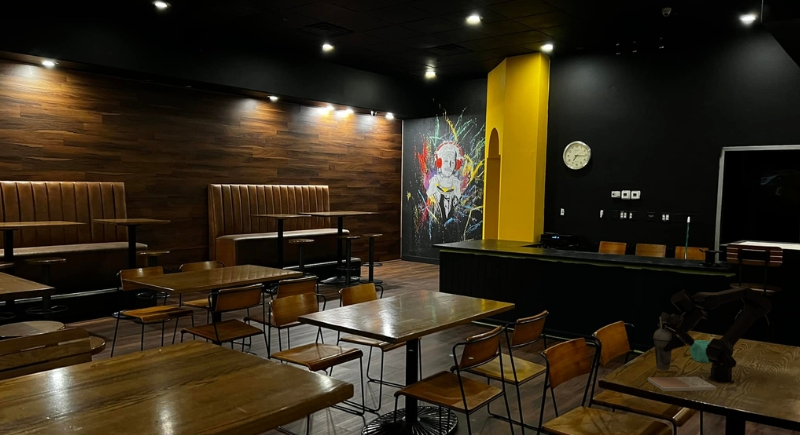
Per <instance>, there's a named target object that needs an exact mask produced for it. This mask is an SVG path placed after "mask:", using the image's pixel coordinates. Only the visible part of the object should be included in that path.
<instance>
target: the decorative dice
mask: <svg viewBox="0 0 800 435" xmlns="http://www.w3.org/2000/svg"><path fill="white" fill-rule="evenodd" d="M710 342H711V341H710V340H703V339H702V340H700V339H698V340H694V344H693V345H692V346H689V353H690V356H691V358H692V359H693V360H694V361H696V362H698V363H703V364H712V362H709V360H708V357H707V355H706V348H707V347H708V346H707V345H708V344H709V343H710Z"/></svg>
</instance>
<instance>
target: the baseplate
mask: <svg viewBox="0 0 800 435" xmlns="http://www.w3.org/2000/svg"><path fill="white" fill-rule="evenodd" d="M647 382H649V383H650V384H652V385H653V386H655V387H657V388H658V389H659V390H661V391H663V392H688V391H689V392H691V391H693V392H694V391H695V392H696V391H717V386H715V385H713V384H711V383H710V382H708V381H706V380H704V379H703V378H700V377H699V376H676V377H675V376H673V377H672V376H670V377H669V376H667V377H666V376H665V377H662V376H661V377H647Z"/></svg>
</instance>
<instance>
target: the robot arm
mask: <svg viewBox="0 0 800 435" xmlns="http://www.w3.org/2000/svg"><path fill="white" fill-rule="evenodd" d="M739 300H741V301H742V302H743V303H744V304H743V312H742V313H741V314H740V315H739V316H738V318H736V320H735V321H734V322H733V324H732V325H731V326H730V327H729V328H728V329H727V331H726V332H725V333H724V334H723V335H722V337H720V338H714V337H713V338H711V341H710V343H709V344H708V345H707V346H708V347H707V348H706V355H707V357H708V360H709V362H712V363H711V367H710V376H708V378H709V379H710V380H712V381H714V382H716V383H719V384H720V383H724V384H725V383H735V380H733V377H732V376H733V368H736V366H737V361H736V360H735V358H734V357H733V354H734V346H735V345H736V344H737V343H738V342H739V340H740V339H741V338H742V337H743V335H744V334H745V333H746V332H747V331H748V329H749V328H750V327H751V326H752V325H753V323H754V322H755V321H756V320H757V319H761V318H762V317H765V316H766V315H767V314H768V313H770V312H771V310H772V308H773V305H772V301H771V300H770V299H769V298H768V297H767V298H766V297H765V296H763V295H761V294H760V293H758V292H756V291H755V290H754V289H753V288H752V287H747V286H742V285H741V286H738V287H735V288H730V289H725V290H722V291H717V292H705V291H704V292H701V291H699V292H696V293H695V294H694V295H690V294H689V292H688V291H687V290H685V289H681V291H678V292H675V293H674V294H672V295H671V297H670V302H671V303H672V304H673V305H674V306H675V307H676V309H677V310H678V311H679V312H681V313H682V314H680V315H679V314H678V315H677V314H675V313H672V314H669V313H667V312H664V311H662V313H661V315H660V317H661V321H662V328H666V329H668V330H669V331H671V333H672V339H671V340H670V342H669V343H668V344H667V345H666V347H665V348H664V349H663V351H664V352H668V351H671V350H672V351H673V350H677V349H679V348H683V347H687V346H689V347H691V346H692V345H693V344H694V341H695V339H694V338H693V336H691V335H690V333H689V332H690V331H691V330H692V331H694V330H695V329H696V328H695V326H696V325H697V324H698V322H699V321H700V320H702V319H704V320H706V321H708V320H709V316H708V315H709V313H708V312H707V311H705V310H708V311H710V310H714V309H716V308H719V306H720V305H722V304H726V303H729V302H733V301H739ZM703 309H705V310H703ZM657 326H658V329H660V328H661V325H660V321H659V322H658V323H657Z"/></svg>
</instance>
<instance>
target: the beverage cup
mask: <svg viewBox="0 0 800 435" xmlns="http://www.w3.org/2000/svg"><path fill="white" fill-rule="evenodd" d="M662 321H663V320H661V316H659V322H660V325H661V328H660V329H659V328H658V329H656V330H655V332H654V333H653V337H652V339H653V343H654V352H655V364H656V369H658V370H661V371H669V370H670V367H671V361H672V352H673V350H671V351H668V352H664V351H663V349H664V348H665V347H666V345H667V344H668V343H669V342H670V340H671V339H672V333H671V331H669V330H668V329H666V328H662Z"/></svg>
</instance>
